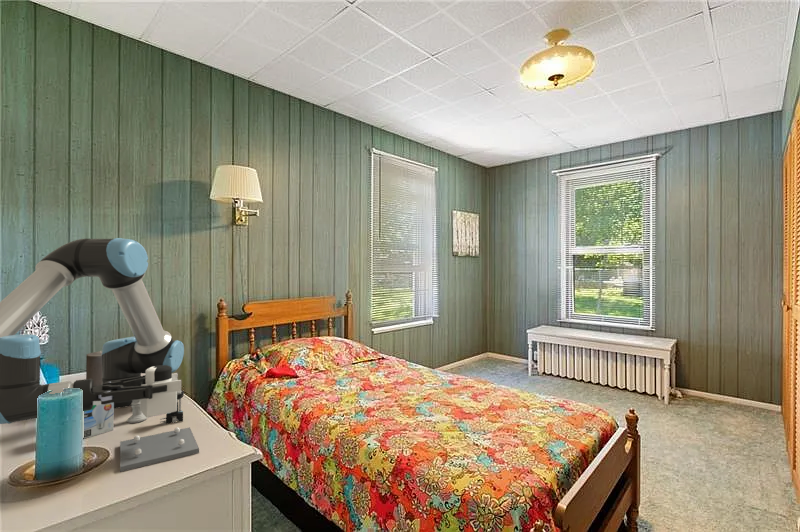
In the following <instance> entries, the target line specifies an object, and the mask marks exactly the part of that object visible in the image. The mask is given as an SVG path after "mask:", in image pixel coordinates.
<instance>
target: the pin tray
mask: <svg viewBox="0 0 800 532" xmlns="http://www.w3.org/2000/svg"><path fill="white" fill-rule="evenodd" d="M119 443H120V444H119V448H120V449H119V450H120V451H119V453H120V454H119V456H120V458H119V462H120V463H119V464H120V466H119V469H120V470H119V472H120V473H122V472H125V471H129V470H133V469H138V468H142V467H147V466H150V465H154V464H159V463H163V462H167V461H171V460H176V459H178V458H179V459H180V458H184V457H188V456H193V455H196V454H199V453H200V447H199V444H198V442H197V441H196V438H195V436H194V434H193V432H192V429H191V427H185V428H180V427H178V426H177V427H175V428H174V430H171V431H166V432H161V433H156V434H155V433H154V434H151V435H146V436H142V437H141V436H140V435H138V434H137V435H134V437H133V438H131V439H128V440H127V439H126V440H123V441H121V440H120V442H119Z"/></svg>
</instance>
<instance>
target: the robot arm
mask: <svg viewBox="0 0 800 532" xmlns="http://www.w3.org/2000/svg"><path fill="white" fill-rule="evenodd" d="M148 260H149V256H148V253H147V251H146V249H145V247H144V246H143V245H142V244H141V243H139V242H138V241H137V240H134V239H131V238H130V239H129V238H123V237H122V238H121V237H116V238H79V239H75V240H73V241H70V242H67V243H65V244H63V245H61V246H59V247H58V248H55V249H54V250H53V251H51V252H50V253H48V254H47V255H46V256H45V257H42V259H40V260H39V262H37V263H36V265H35V271H33V272H32V273H31V274H30V275H29V276H28V277H27V278H25V280H23V281H22V282H21V283H20V284H19V285H17V286H16V288H14V289H13V290H11V292H10V293H9V294H7V296H5V297H4V298H3V299H2V300H1V301H0V425H3V424H9V425H10V424H13V423H16V422H23V421H29V420H36V419H38V418H37V398H38V396H39V395H41V394H43V393H45V392H47V391H49V390H51V391H52V390H53V391H52V392H50V393H49V394H55V393H61V392H64V391H63V390H64V389H62V388H80V389H82V390H83V411H87V410H91V409H92V408H93V401H101V404H108V403H113V402H114V409H120V408H121V409H122V408H127V407H131V406H132V405H131V403H132V402H133V401H132V400H138V399H147V398H149V399H152V395H156V394H162V393H169V392H175V391H182V379H178V375H179V374H178V372H176V371H178V369H179V368H180V367H181V364H182V362H183V360H184V355H185V346H184V343H183V342H182V341H181V340H178V339H176V340H175V339H173V336H172V334H171V333H170V332H169V331H167V330H164V328H163V326H162V323H161V320H160V318H159V316H158V314H157V312H156V309H155V307H154V305H153V302H152V299H151V297H150V296H149V292H148V290H147V288H146V286H145V283H144V281H143V279H144V277H145V276H146V271H147V270H148V266H149V262H148ZM86 277H92V278H93V277H94V278H96V277H97V278H99V280H100V282H101V284H102V285H103V287H104V288H106V289H108V290H111V291H112V293H113V296H114V297H115V299H116V302H117V303H118V306H119V307H120V309H121V312H122V314H123V316H124V318H125V320H126V322H127V324H128V326H129V329H130V330H131V332H132V334H133V336H129V337H122V338H117V339H113V340H109V341H105V342H104V343H103V345H102V348H101V351H102V354H101V355H102V385H99V386H93V379H86V378H84V379H77V380H75V381H73V382H72V381H71V380H68V381H60V382H53V383H47V384H46V383H45V384H41V383H40V382H41V380H40V379H41V355H42V351H41V346H40V345H41V344H40V343H41V342H40V338H39V336H37V335H36V334H27V333H26V334H25V333H24V334H18V332H19V331H20V330H21V329H23V327H24V326H25V325H26V324H27V323H28V322H29V321H30V320H31V319H32V318H33V317H35V315H37V313H39V311H40V310H41V309H43V307H44V306H45V305H46V304H47V303H48V302H49V301H50V300H51V299H53V298H54V296H56V294H57V293H58V292H59V291H60V290H61V289H62V288H63V287H64V288H65V287H68V286H71V284H73V283H74V282H75V281H76V280H78V279H81V278H86ZM158 365H167V366H170V367H171V368H172V380H171V381H169V382H162V383H154V384H152V385H147V386H141V385H143V384H146V383H145V379H146V370H147V369H148V368H150V367H153V366H158ZM142 374H144V375H142Z"/></svg>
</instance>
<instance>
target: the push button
mask: <svg viewBox="0 0 800 532" xmlns="http://www.w3.org/2000/svg"><path fill="white" fill-rule="evenodd" d="M184 394H185V391H184V390H181V391H177V411H176V412H171V413H167V414H165V417H162V418H159V420H160V421H159V423H166V424H167V423H168V424H174V422H175V423H177V422H176V421H182V422H183V421H184V411H183V409H182V399H183V398H184ZM161 420H162V421H161ZM171 422H173V423H171Z"/></svg>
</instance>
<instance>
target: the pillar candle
mask: <svg viewBox="0 0 800 532" xmlns="http://www.w3.org/2000/svg"><path fill="white" fill-rule="evenodd" d="M101 354H102V349H100V351H94V352H89V353H87V354H86V356H85V357H86V360H85V361H86V363H85V364H86V367H85V368H86V370H85V371H86V374H85V377H86V378H85V379H93V386H99V385H102V355H101Z"/></svg>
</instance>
